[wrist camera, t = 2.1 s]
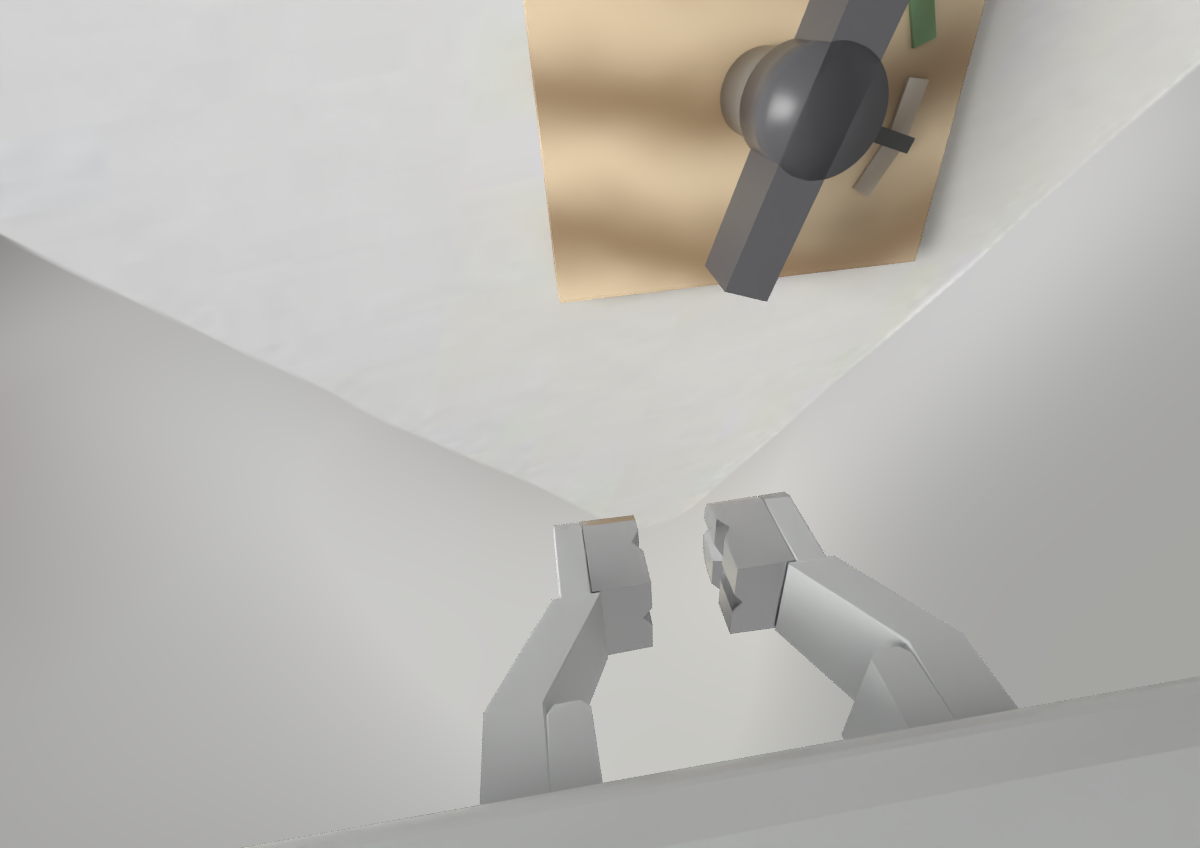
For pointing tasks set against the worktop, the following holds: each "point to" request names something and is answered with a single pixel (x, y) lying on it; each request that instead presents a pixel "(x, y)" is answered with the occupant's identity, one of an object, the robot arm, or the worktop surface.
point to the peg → (800, 131)
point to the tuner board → (716, 138)
